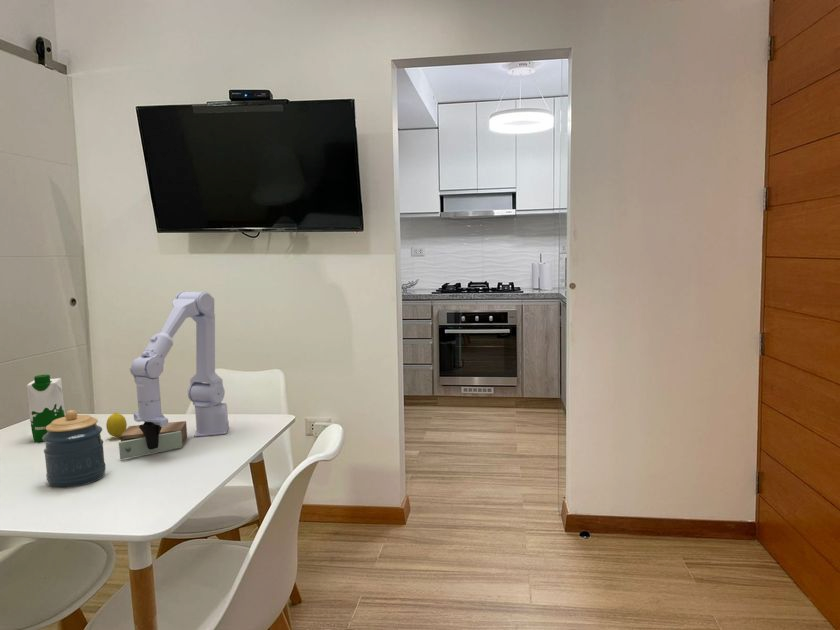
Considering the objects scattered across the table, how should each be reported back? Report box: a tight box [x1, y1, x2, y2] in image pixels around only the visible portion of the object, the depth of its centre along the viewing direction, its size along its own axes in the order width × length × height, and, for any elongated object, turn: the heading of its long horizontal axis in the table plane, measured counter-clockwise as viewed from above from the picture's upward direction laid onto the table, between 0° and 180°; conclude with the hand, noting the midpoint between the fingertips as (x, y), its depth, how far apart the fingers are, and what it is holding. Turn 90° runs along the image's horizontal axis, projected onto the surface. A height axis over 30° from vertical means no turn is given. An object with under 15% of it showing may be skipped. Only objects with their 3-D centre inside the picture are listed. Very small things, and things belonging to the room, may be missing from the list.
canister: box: [42, 409, 107, 489], centre depth 150 cm, size 13×13×18 cm
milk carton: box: [26, 374, 66, 444], centre depth 186 cm, size 9×9×20 cm
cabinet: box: [119, 420, 188, 447], centre depth 176 cm, size 16×10×5 cm, turn 103°
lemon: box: [105, 412, 128, 439], centre depth 184 cm, size 6×6×8 cm
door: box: [118, 431, 183, 460], centre depth 168 cm, size 16×2×5 cm, turn 124°
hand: (152, 448), depth 167 cm, fingers closed, pressing on door
